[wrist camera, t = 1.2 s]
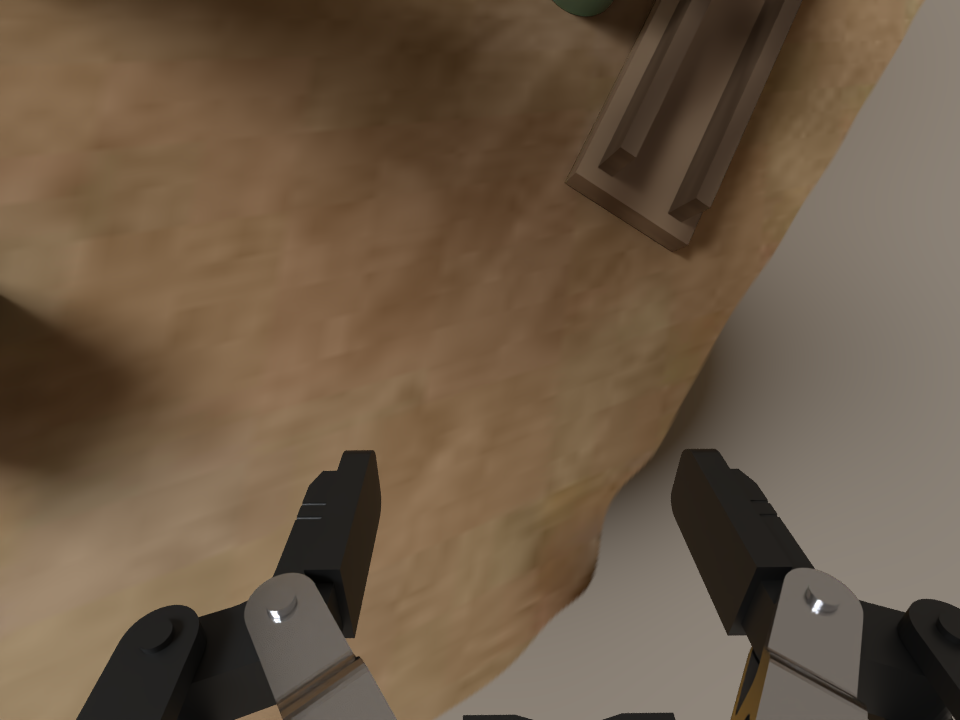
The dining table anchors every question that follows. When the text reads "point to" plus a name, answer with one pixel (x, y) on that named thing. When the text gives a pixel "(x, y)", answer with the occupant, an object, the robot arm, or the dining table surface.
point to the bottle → (584, 6)
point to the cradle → (680, 112)
